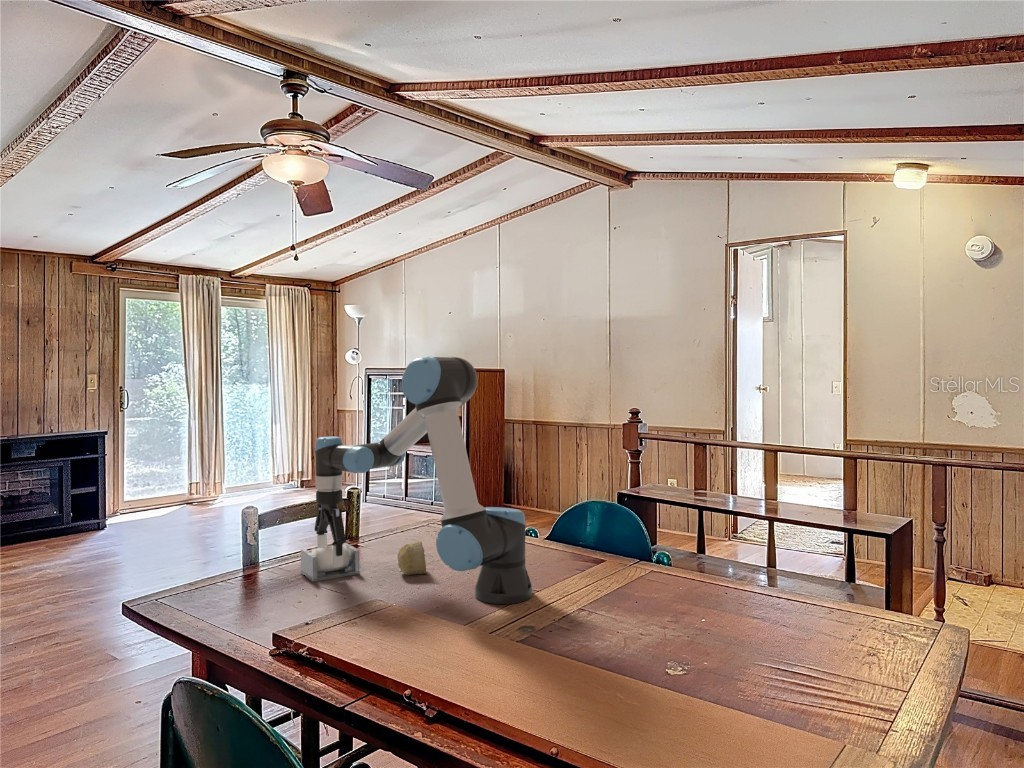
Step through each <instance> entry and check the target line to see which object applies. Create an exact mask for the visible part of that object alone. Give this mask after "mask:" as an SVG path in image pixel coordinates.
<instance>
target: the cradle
mask: <svg viewBox="0 0 1024 768" xmlns="http://www.w3.org/2000/svg"><path fill="white" fill-rule="evenodd" d="M343 545H346V547H347V549H348V553H349V565H348V567H346V568H344V569H340V570H335V571H329V572H324V571H323V572H317V556H315V555H314V554H312V551H311V552H310V551H309V550H308V549H306V548H301V549H300V574H302V576H304V575H305V576H306V577H305V576H304V577H305V578H307V579H308V580H310V581H311V582H312V583H315V582H320V581H327V580H332V579H339V578H344V577H349V576H355V575H360V574H361V573H360V549H358V548H356V547H354V546H353V545H350V544H349V543H347V542H346V543H344V544H343Z"/></svg>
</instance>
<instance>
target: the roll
mask: <svg viewBox="0 0 1024 768" xmlns="http://www.w3.org/2000/svg"><path fill="white" fill-rule="evenodd" d="M311 553H312V554H314V555H315V556H317V572H323V571H324V572H329V571H335V570H340V569H344V568H346V567H348V565H349V553H348V549H347V547H346V545H343V566H341V567H335V568H334V567H333V545H332V546H327V547H325V548H318V549H317V548H313V549H312V550H311Z"/></svg>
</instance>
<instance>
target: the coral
mask: <svg viewBox="0 0 1024 768" xmlns="http://www.w3.org/2000/svg"><path fill="white" fill-rule="evenodd" d="M397 566H398V568H399V569H400V571H401V572H402V573H403V574H404V575H407V576H413V575H423V574H427V573H428V572H427V564H426V554H425V548H424V545H423V542H422V540H421V541H415V542H411V543H406V544H405V545H402V546H401V547H400V549H399V550H398V553H397Z"/></svg>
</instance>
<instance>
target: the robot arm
mask: <svg viewBox="0 0 1024 768" xmlns="http://www.w3.org/2000/svg"><path fill="white" fill-rule="evenodd" d="M401 377H402V378H401V390H402V394H403V395H404V397H405V399H406V400H407V401H408V402H410V403H411V404H414V405H415V407H414V408H413V409H412V410H411V411H410V412H409V413H408V415H406V416H405V417H404V418H403V419H402V420H401V421H400V422H399V423H398V424H397V425H396V426H395V427H394V428H393V429H392V430H390V432H388V433H387V434H386V436H384V437H383V438H382V439H381V440H379V441H378V442H373V443H372V442H369V443H364V444H355V445H349V444H348V445H346V444H343V439H342V438H341V437H340V436H333V435H332V436H320V437H317V438H316V440H315V450H314V453H315V455H314V456H315V489H316V492H315V502H316V504H317V512H316V518H315V522H314V523H315V524H314V532H315V533H316V538H317V539H316V540H317V541H316V542H317V546H316V547H317V548H316V549H318V548H325V547H328V530H327V529H328V527H329V529H330V532H331V536H332V539H333V542H332V543H331V545H332V546H333V567H334V568H335V567H341V566H343V544H344V543H347V537H346V533H345V532H346V531H345V526H344V520H343V513H342V512H343V510H342V508H338V506H337V505H338V504H341V503H342V502H343V490H342V489H341V488H342V487H343V480H344V476H343V472H347V473H353V474H364V473H368V471H370V470H374V469H380V468H391V467H392V468H393V467H395V466H398V465H400V464H401V463H403V462H404V460H405V457H406V452H407V451H409V449H411V448H412V447H413V446H414V445H415V444H416V443H417V442H419V440H421V438H423V437H424V436H426V434H427V437H428V441H429V444H430V450H431V454H432V459H433V463H434V467H435V472H436V476H437V481H438V486H439V490H440V495H441V500H442V504H443V507H444V508H443V509H444V512H443V514H442V515H441V518H440V523H441V529H440V530H438V533H437V537H436V539H435V545H436V550H437V554H438V555H439V558H440V559H441V561H442V562H443V563H444V565H446V566H448V568H450V569H451V570H453V571H456V572H466V571H470V570H476V569H477V568H479V567H480V571H479V573H478V577H477V579H476V584H475V587H474V597H475V598H476V599H477V600H478V601H480V602H484V603H489V604H497V605H511V604H517V603H523V602H526V601H527V600H529V599H531V598H532V597H533V585H532V582H531V580H530V576H529V573H528V570H527V566H526V527H527V525H526V516H525V512H523V511H522V510H520V509H516V508H510V507H502V506H501V507H499V506H486V507H484V506H483V505H481V504H480V503H479V500H478V495H477V492H476V487H475V482H474V478H473V474H472V469H471V466H470V460H469V457H468V453H467V448H466V443H465V440H464V434H463V429H462V426H461V420H460V417H459V409H460V408H461V407H463V406H464V405H465V404H466V403H467V402H469V400H470V399H472V397H473V396H474V394H475V392H476V390H477V387H478V375H477V371H476V369H475V367H474V366H473V365H472V363H470V362H469V361H468V360H467V359H464V358H461V357H457V356H456V357H455V356H454V357H453V356H451V357H447V356H446V357H443V356H442V357H441V356H432V355H431V356H429V355H428V356H425V357H418V358H416V359H413V360H412V361H410V362H409V363H408V364H407V366H406V367H405V370H404V371H403V374H402V376H401Z"/></svg>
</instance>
